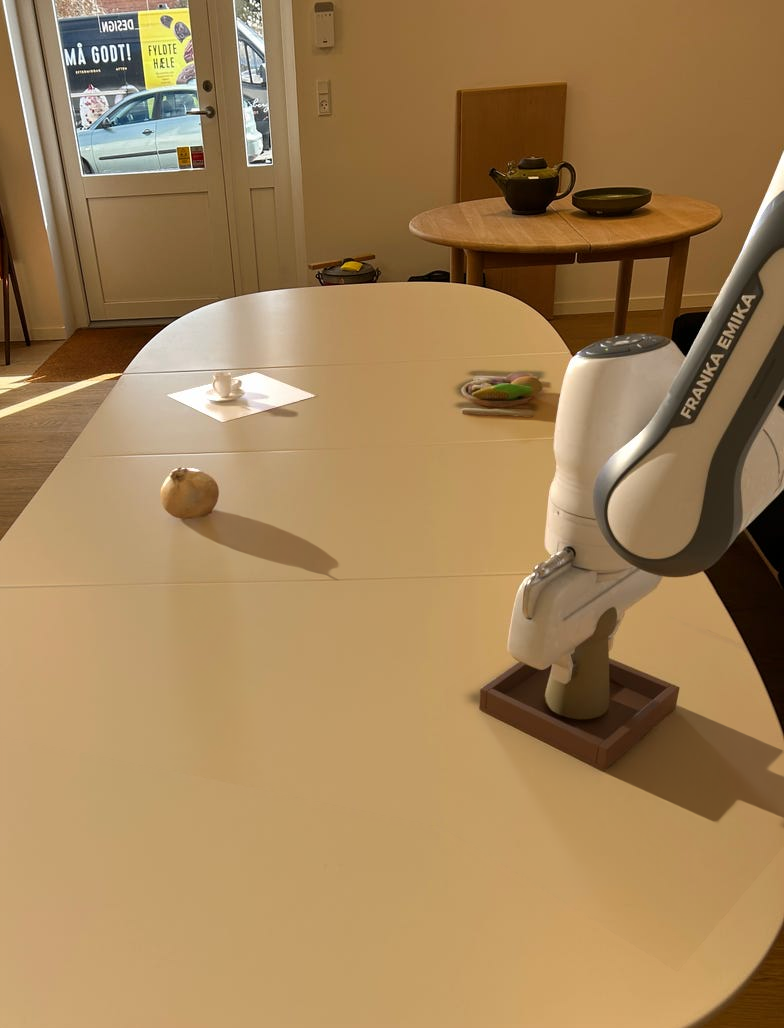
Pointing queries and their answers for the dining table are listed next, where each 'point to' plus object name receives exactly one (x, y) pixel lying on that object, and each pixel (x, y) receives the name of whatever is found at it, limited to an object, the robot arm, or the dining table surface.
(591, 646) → the chess pawn figurine
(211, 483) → the onion
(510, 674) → the tray
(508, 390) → the toy food set
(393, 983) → the dining table surface
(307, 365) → the dining table surface
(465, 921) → the dining table surface
